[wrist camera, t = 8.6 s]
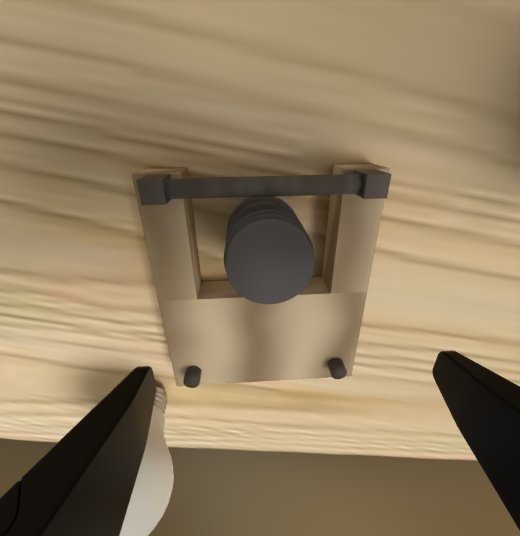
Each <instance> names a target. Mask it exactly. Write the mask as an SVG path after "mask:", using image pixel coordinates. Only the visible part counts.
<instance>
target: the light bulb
mask: <svg viewBox="0 0 520 536" xmlns="http://www.w3.org/2000/svg"><path fill="white" fill-rule="evenodd" d="M166 405H167V395H166V392H165V391H164V389H162V388H160V387H157V386H156V396H155V401H154V406H153V412H152V417H151V422H150V428H149V433H148V438H147V443H146V447H145V451H144V455H143V458H142V461H141V465H140V468H139V471H138V475H137V478H136V482H135V485H134V488H133V492H132V495H131V498H130V502H129V505H128V508H127V512H126V515H125V519H124V522H123V525H122V529H121V532H120V535H119V536H148V535H149V533H150V532H151V531H152V530H153V529H154V528H155V526H156V525H157V523H158V521H159V520H160V519H161V517H162V516H163V513H164V511H165V510H166V507H167V505H168V503H169V499H170V495H171V492H172V488H173V479H174V475H173V463H172V459H171V456H170V453H169V450H168V448H167V445H166V441H165V438H164V432H163V431H164V423H165V416H164V412H165V409H166Z"/></svg>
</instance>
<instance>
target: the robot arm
mask: <svg viewBox="0 0 520 536" xmlns="http://www.w3.org/2000/svg"><path fill="white" fill-rule="evenodd" d="M433 377H434V379H435V381H436V383H437V386H438V388H439V390H440V392H441V394H442V396H443V398H444V400H445V402H446V404H447V406H448V408H449V410H450V412H451V415H452V417H453V419H454V421H455V422H456V424H457V426H458V428H459V430H460V431H461V433H462V435H463V437H464V438H465V440H466V442H467V443H468V445H469V447H470V448H471V450H472V452H473V453H474V455H475V457H476V458H477V460H478V462H479V463H480V465H481V466H482V468H483V470H484V472H485V473H486V475H487V477H488V478H489V480H490V482H491V483H492V485H493V487H494V488H495V490H496V492H497V493H498V495H499V497H500V498H501V500H502V502H503V503H504V505H505V507H506V508H507V510H508V512H509V513H510V515H511V517H512V518H513V520H514V522H515V523H516V525H517V527H518V528H519V530H520V386H518V385H516V384H514V383H512V382H510V381H509V380H507V379H505V378H503V377H501V376H500V375H498V374H496V373H494V372H492V371H490V370H489V369H487V368H485V367H483V366H481V365H479V364H478V363H476V362H474V361H472V360H470V359H469V358H467V357H465V356H463V355H461V354H459V353H458V352H456V351H441V352H440V353H439V354H438V356H437V359H436V362H435V364H434V367H433ZM155 396H156V383H155V379H154V375H153V371H152V368H151V367H149V366H144V367H137V368H135V369H134V370H133V371H132V372H131V373H130V374H129V375H128V376H127V377H125V378H124V379H123V380H122V381H121V382H120V383H119V384H118V385H117V386H116V387H115V388H114V389H113V390H112V391H111V392H110V393H109V394H108V395H107V396H106V397H105V398H104V399H103V400H102V401H101V402H100V403H98V404H97V405H96V406H95V407H94V408H93V409H92V410H91V411H90V412H89V413H88V414H87V415H86V416H85V417H84V418H83V419H82V420H81V421H80V422H79V423H78V424H77V425H76V426H75V427H74V428H73V429H71V430H70V431H69V432H68V433H67V434H66V435H65V436H64V437H63V438H62V439H61V440H60V441H59V442H58V443H57V444H56V445H55V446H54V447H53V448H52V449H51V450H50V451H49V452H48V453H47V454H46V455H44V456H43V457H42V458H41V459H40V461H38V462H37V463H36V464H35V465H34V466H33V467H32V468H31V469H30V470H29V471H28V472H27V473H26V474H25V475H24V476H23V477H22V479H21V480H19V481H17V482H16V483H15V484H14V485H13V486H12V487H11V488H10V489H9V490H8V491H7V492H6V493H5V494H4V495H3V496H2V497H1V498H0V536H119V535H120V532H121V529H122V525H123V522H124V519H125V515H126V512H127V508H128V505H129V502H130V498H131V495H132V492H133V488H134V485H135V482H136V478H137V475H138V471H139V468H140V465H141V461H142V458H143V455H144V451H145V447H146V443H147V438H148V433H149V428H150V422H151V417H152V412H153V406H154V401H155Z"/></svg>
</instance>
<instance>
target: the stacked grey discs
mask: <svg viewBox="0 0 520 536" xmlns="http://www.w3.org/2000/svg"><path fill="white" fill-rule="evenodd" d="M224 265H225V269H226V272H227V276H228V279H229V281H230V284H231V285H232V287H233V288H234V289H235V290H236V292H237V293H239V294H240V295H241V296H242V297H244V298H246V299H248V300H250V301H252V302H255V303H259V304H277V303H282V302H285V301H288V300H290V299H292V298H294V297H295V296H297V295H298V294H299V293H301V292H302V291H303V290H304V289H305V287H306V286H307V285H308V283H309V282H310V280H311V278H312V276H313V272H314V268H315V257H314V250H313V245H312V242H311V240H310V238H309V236H308V234H307V233H306V231H305V229H304V228H303V226H302V224H301V223H300V221H299V220H298V218H297V216H296V214H295V213H294V211H293V210H292V209H291V207H290V206H289V205H287V204H286V203H285V202H283V201H282V200H280V199H278V198H275V197H272V196H265V197H251V198H249V199H247V200H245V201H244V202H242V203H241V204H240V205H239V206H238V207H237V208H236V209H235V210H234V212H233V213H232V215H231V217H230V219H229V223H228V229H227V237H226V245H225V252H224Z"/></svg>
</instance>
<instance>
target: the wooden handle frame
mask: <svg viewBox="0 0 520 536" xmlns="http://www.w3.org/2000/svg"><path fill="white" fill-rule="evenodd" d="M389 171H390V169H389V168H386V167H382V166H379V165H376V164H372V163H369V164H333V168H332V175H305V176H263V177H222V178H189V177H188V169H187V168H146V169H143V170H141V171H139V172H137V173H135V174H132V177H133V182H134V187H135V191H136V196H137V201H138V206H139V210H140V215H141V220H142V224H143V229H144V234H145V239H146V243H147V248H148V253H149V258H150V262H151V267H152V272H153V277H154V281H155V286H156V291H157V295H158V300H159V305H160V310H161V314H162V319H163V324H164V329H165V333H166V338H167V343H168V347H169V352H170V357H171V362H172V366H173V371H174V376H175V381H176V385H177V386H187V387H190V388H194V387H197V386H198V385H206V384H223V383H240V382H257V381H274V380H291V379H308V378H326V377H333V378H334V379H341V378H343V377H345V376H351V375H352V370H353V364H354V359H355V354H356V348H357V343H358V338H359V332H360V327H361V321H362V316H363V311H364V305H365V300H366V295H367V289H368V284H369V279H370V273H371V268H372V262H373V257H374V252H375V246H376V241H377V236H378V230H379V225H380V219H381V214H382V209H383V203H384V198H387V194H388V189H389V184H390V178H391V174H389ZM301 195H330V198H329V208H328V219H327V229H326V239H325V249H324V259H323V270H322V277H312V278H311V280H310V282H309V283H308V285H307V286H306V287H305V289H304V290H303V291H302V292H301V293H299V294H298V295H297V296H295V297H294V298H292V299H290V300H288V301H285V302H282V303H277V304H259V303H255V302H252V301H250V300H248V299H246V298H244V297H242V296H241V295H240V294H239V293H237V292H236V290H235V289H234V288H233V287H232V285H231V284H230V281H229V280H227V281H203V282H202V281H201V273H200V265H199V257H198V249H197V241H196V233H195V225H194V217H193V209H192V201H191V199H192V198H229V197H265V196H301Z"/></svg>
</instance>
